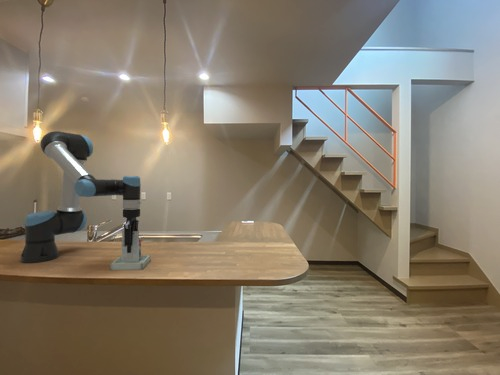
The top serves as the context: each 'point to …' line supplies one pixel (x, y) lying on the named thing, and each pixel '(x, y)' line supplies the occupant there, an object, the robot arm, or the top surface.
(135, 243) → the ink box
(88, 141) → the robot arm
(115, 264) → the tray
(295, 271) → the top surface
